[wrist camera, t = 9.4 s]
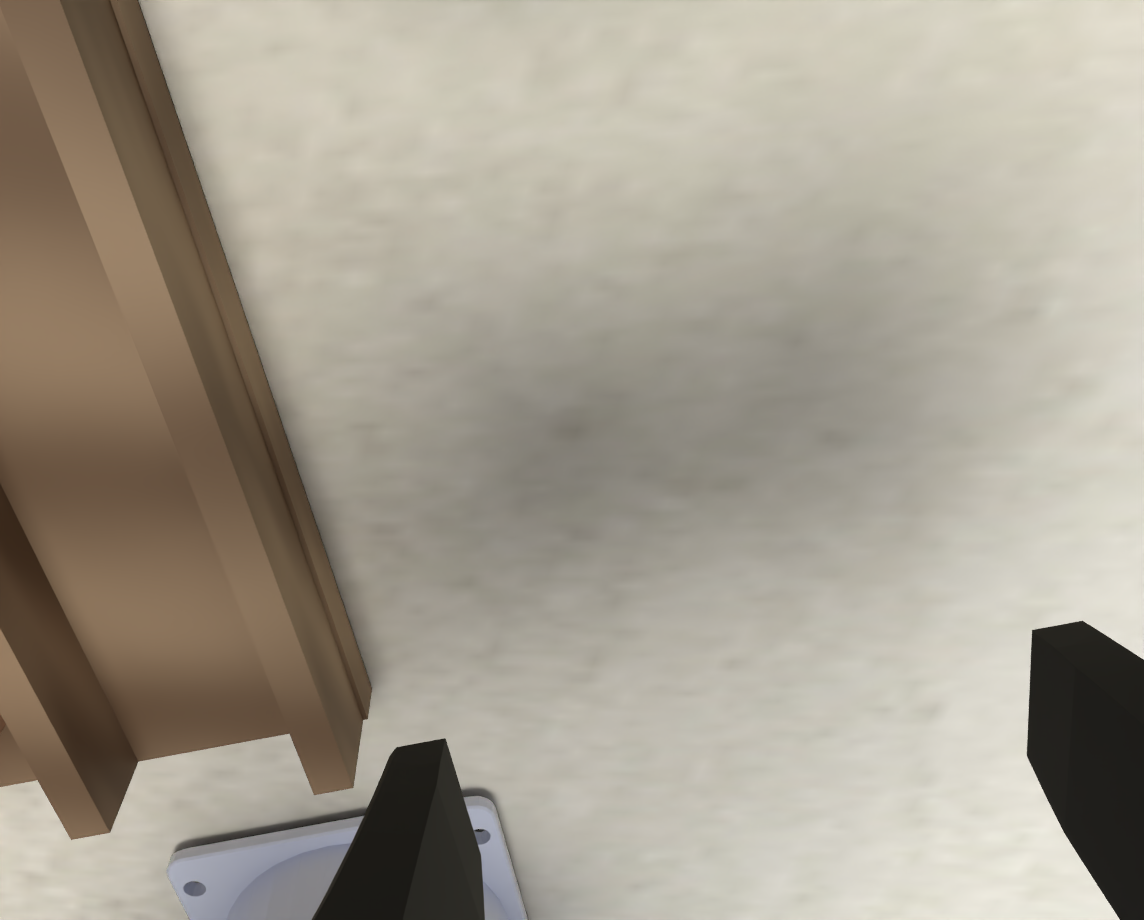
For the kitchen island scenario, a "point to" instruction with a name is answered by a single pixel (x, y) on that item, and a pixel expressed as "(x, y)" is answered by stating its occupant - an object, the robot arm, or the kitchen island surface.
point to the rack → (140, 449)
